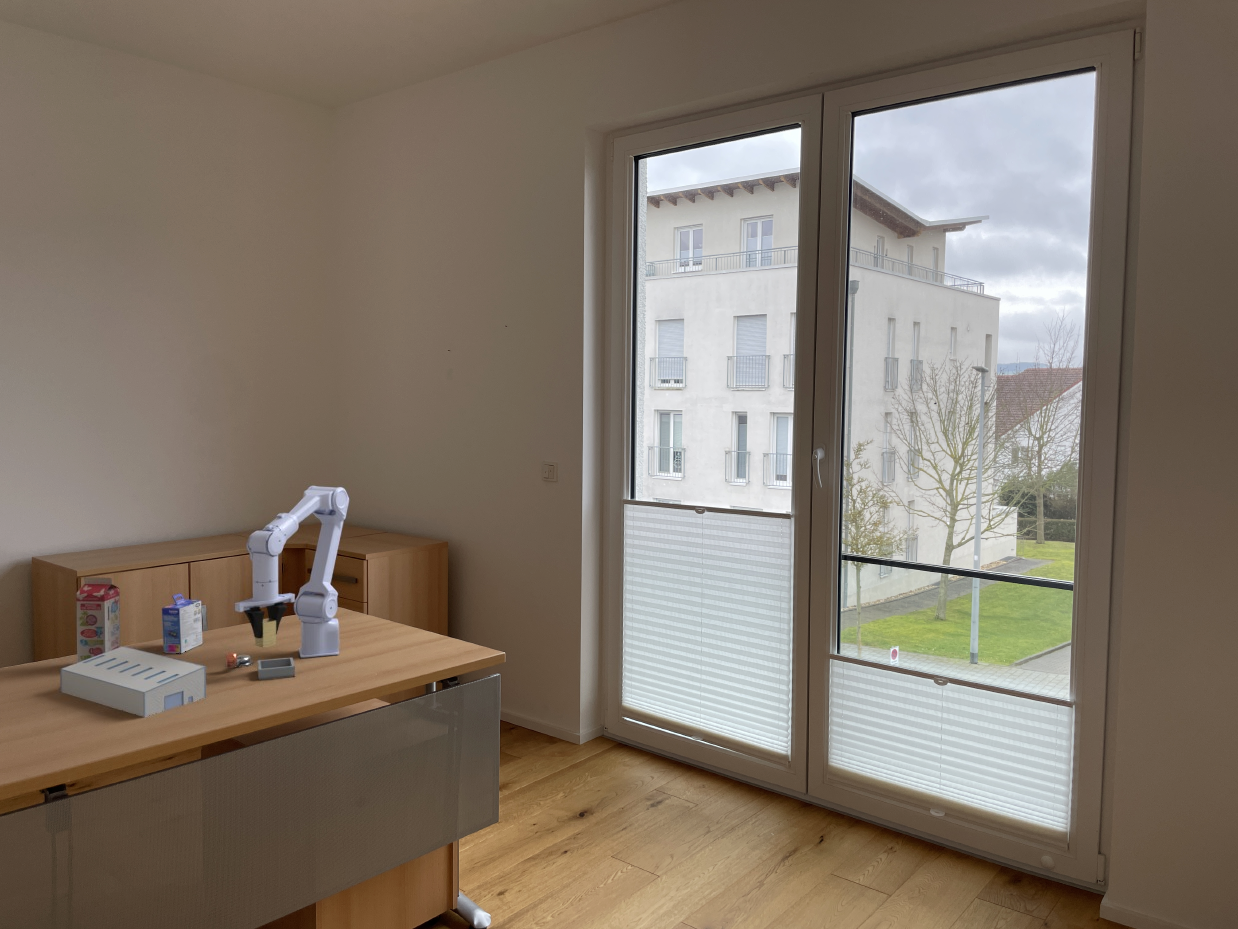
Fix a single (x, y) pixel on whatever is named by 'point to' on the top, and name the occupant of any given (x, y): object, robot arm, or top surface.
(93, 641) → the juice carton
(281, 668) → the tray
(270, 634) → the block
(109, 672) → the warehouse
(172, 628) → the ink cartridge box
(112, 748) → the top surface
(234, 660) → the crank
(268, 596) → the robot arm
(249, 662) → the bearing
